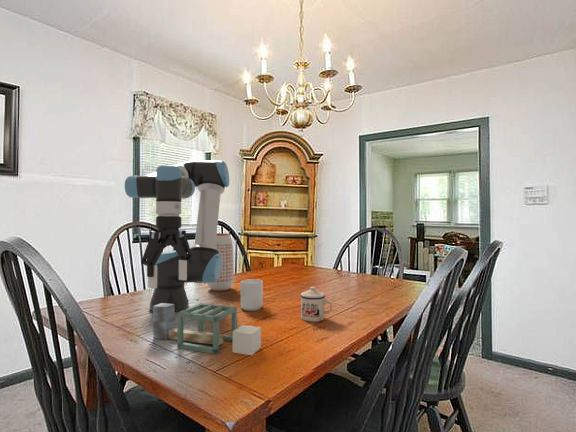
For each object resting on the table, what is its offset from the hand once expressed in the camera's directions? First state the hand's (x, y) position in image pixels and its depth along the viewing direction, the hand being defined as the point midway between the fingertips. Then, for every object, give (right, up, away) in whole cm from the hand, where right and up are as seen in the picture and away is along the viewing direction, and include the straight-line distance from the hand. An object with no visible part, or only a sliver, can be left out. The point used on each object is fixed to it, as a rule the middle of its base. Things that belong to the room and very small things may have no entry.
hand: (168, 283), depth 111 cm
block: (+25, -17, -9) cm, 32 cm away
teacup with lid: (+48, -17, +21) cm, 55 cm away
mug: (+23, -17, +36) cm, 46 cm away
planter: (+3, -16, +69) cm, 71 cm away
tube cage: (+13, -17, -5) cm, 22 cm away
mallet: (+7, -17, -2) cm, 18 cm away
